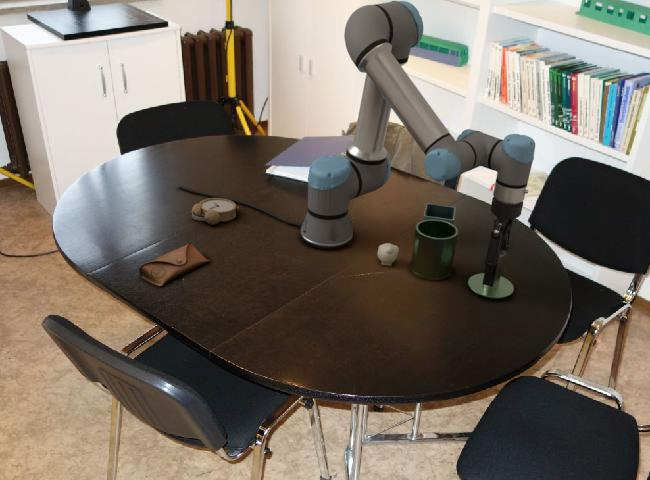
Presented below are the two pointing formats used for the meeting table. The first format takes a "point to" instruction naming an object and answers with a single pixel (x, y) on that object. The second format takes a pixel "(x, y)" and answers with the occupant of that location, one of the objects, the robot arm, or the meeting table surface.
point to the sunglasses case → (172, 265)
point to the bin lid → (500, 287)
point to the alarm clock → (214, 210)
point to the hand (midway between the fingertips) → (491, 278)
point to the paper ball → (387, 253)
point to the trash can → (433, 249)
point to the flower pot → (439, 212)
